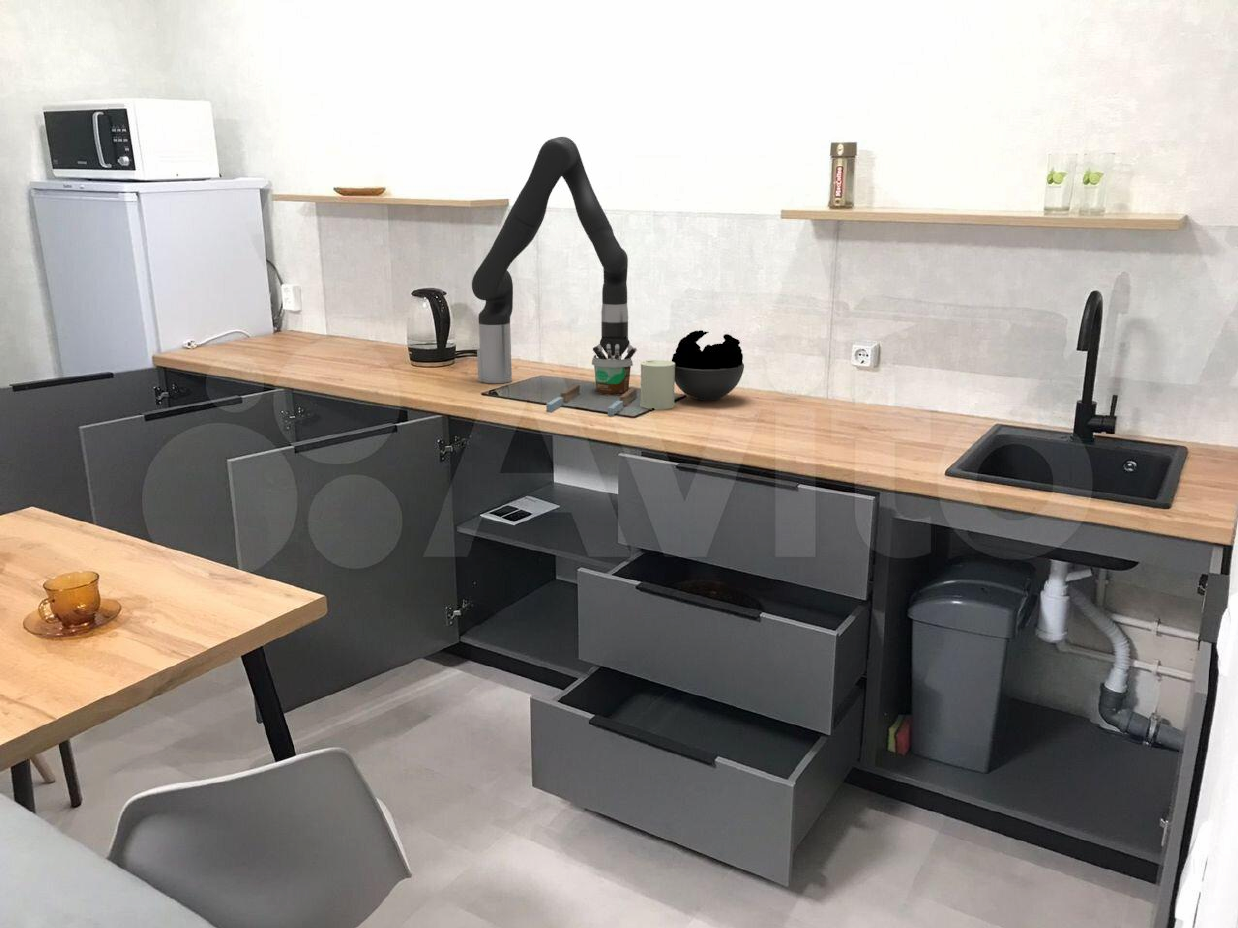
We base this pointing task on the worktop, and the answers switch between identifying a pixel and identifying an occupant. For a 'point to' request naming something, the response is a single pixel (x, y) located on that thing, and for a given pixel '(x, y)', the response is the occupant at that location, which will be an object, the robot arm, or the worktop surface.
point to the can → (657, 384)
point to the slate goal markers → (559, 402)
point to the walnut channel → (575, 391)
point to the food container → (612, 375)
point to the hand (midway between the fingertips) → (614, 380)
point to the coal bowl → (707, 367)
